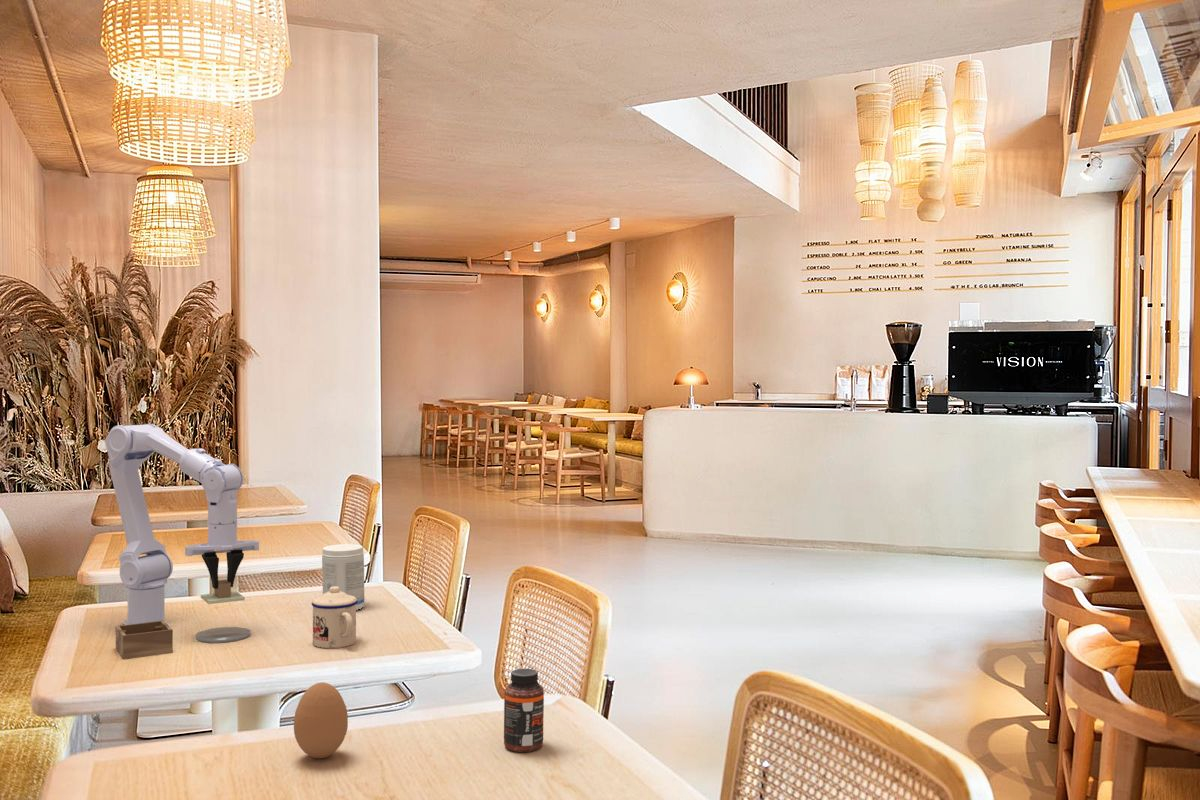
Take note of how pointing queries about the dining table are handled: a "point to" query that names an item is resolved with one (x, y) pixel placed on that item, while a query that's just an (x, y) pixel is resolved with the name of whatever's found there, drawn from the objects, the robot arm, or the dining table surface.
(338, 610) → the teacup with lid
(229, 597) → the lid
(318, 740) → the egg
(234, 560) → the robot arm
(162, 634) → the brown wooden open box
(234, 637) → the coaster
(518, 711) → the supplement bottle
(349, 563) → the supplement tub
